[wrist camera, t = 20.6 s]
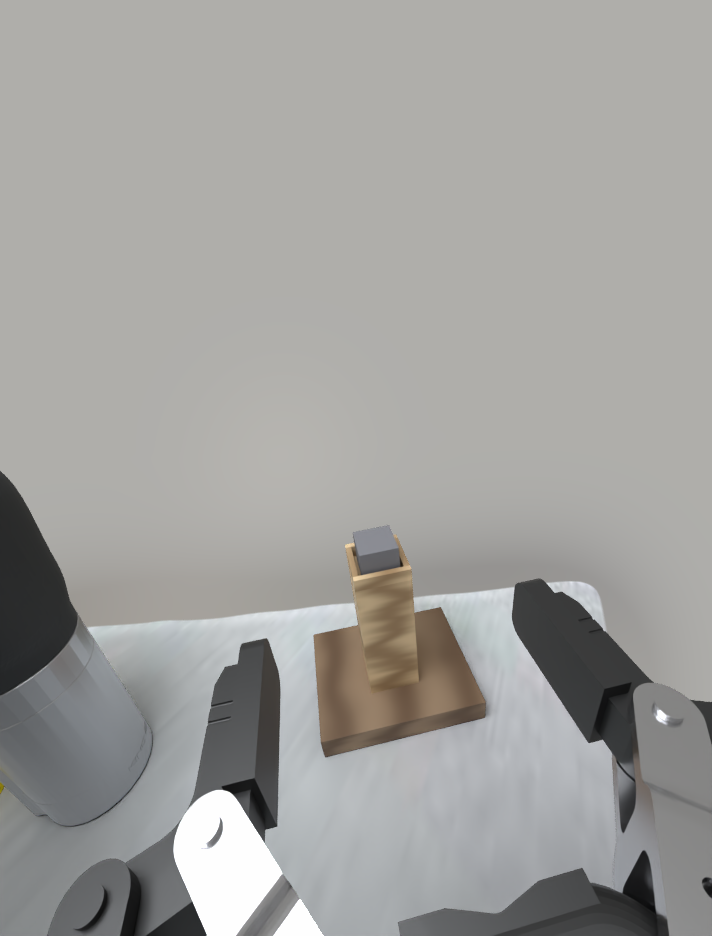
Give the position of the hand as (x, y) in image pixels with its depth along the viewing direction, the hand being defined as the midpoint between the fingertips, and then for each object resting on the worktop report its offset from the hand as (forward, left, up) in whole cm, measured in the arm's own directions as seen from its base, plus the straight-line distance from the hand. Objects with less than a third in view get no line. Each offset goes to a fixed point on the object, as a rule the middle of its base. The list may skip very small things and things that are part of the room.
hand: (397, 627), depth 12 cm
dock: (+2, +18, -30) cm, 35 cm away
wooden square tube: (+2, +18, -28) cm, 33 cm away
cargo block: (+2, +18, -14) cm, 23 cm away
